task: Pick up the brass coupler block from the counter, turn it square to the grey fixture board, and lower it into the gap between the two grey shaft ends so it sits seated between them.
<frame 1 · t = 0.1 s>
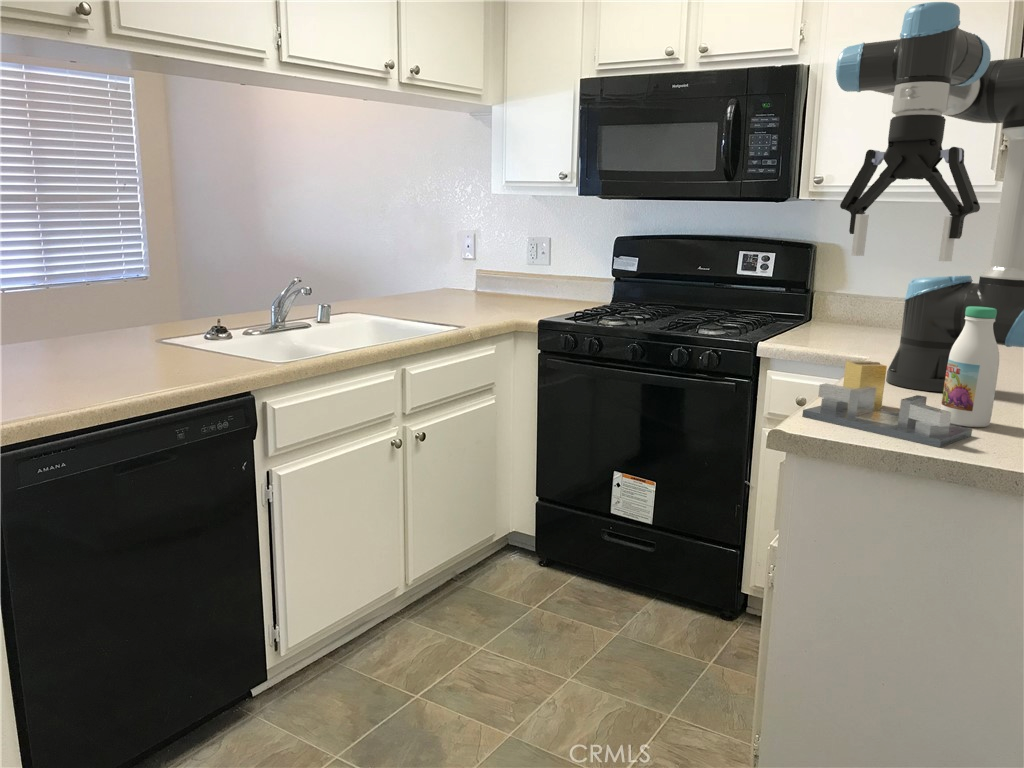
hand: (899, 258, 128), 28 cm above the worktop, fingers open, 13 cm apart
coupler: (860, 405, 153), on the worktop
milk bottle: (963, 423, 142), on the worktop
grey fixture board: (883, 425, 138), on the worktop
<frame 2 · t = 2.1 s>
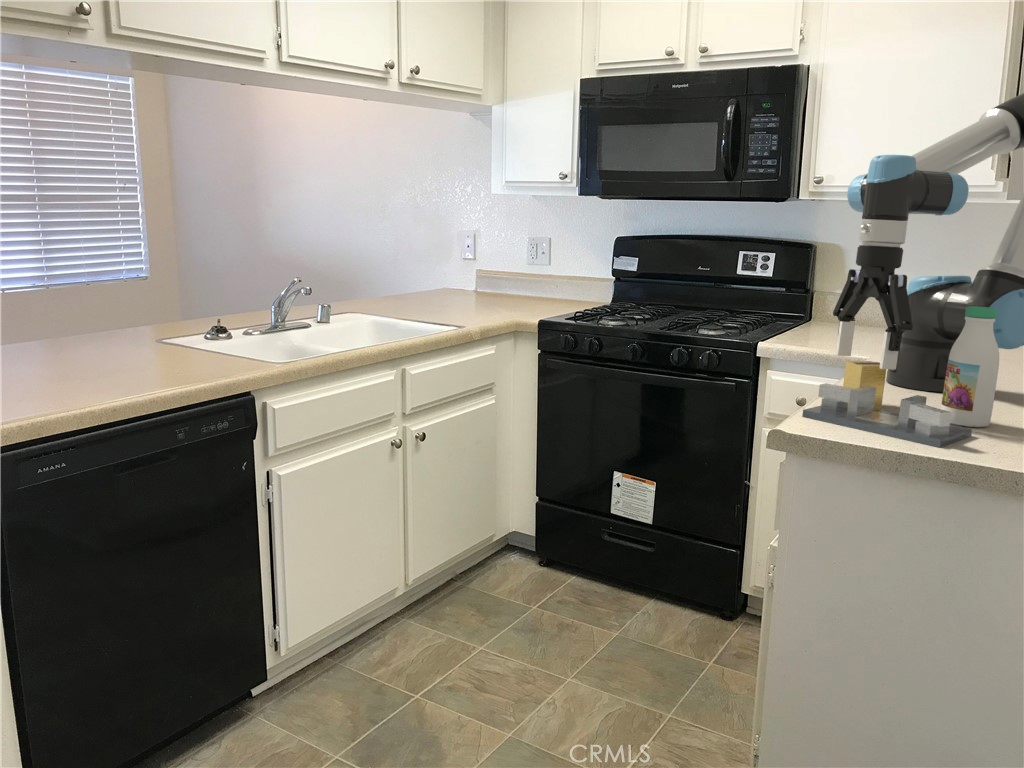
hand: (864, 362, 151), 8 cm above the worktop, fingers open, 13 cm apart
nothing on the worktop moved.
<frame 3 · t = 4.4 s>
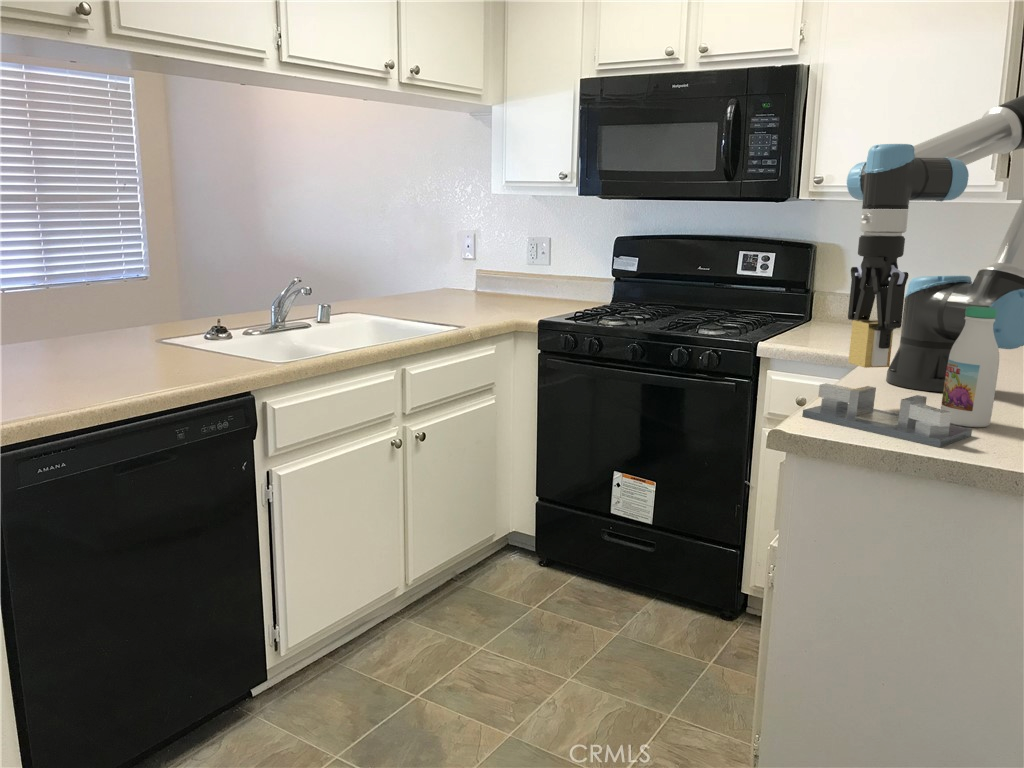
hand: (869, 362, 152), 8 cm above the worktop, fingers closed on coupler, 5 cm apart
coupler: (868, 364, 152), point 8 cm above the worktop, touching gripper
everything else where it was.
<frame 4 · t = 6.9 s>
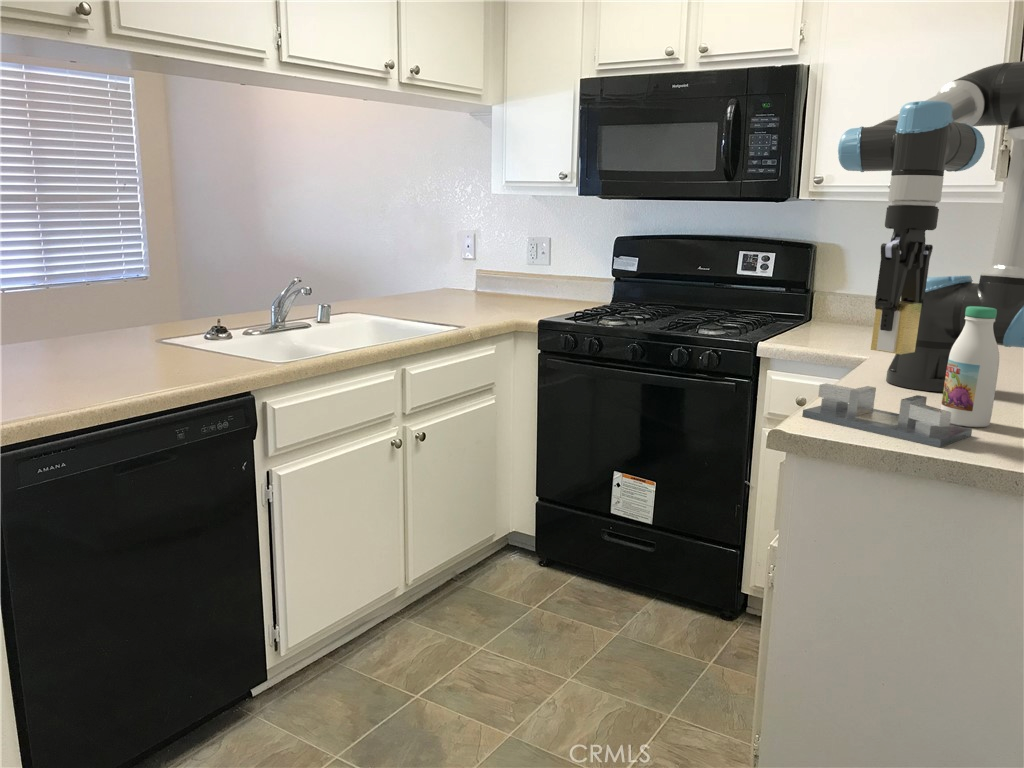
hand: (893, 349, 135), 13 cm above the worktop, fingers closed on coupler, 5 cm apart
coupler: (892, 350, 135), point 13 cm above the worktop, touching gripper
everything else where it was.
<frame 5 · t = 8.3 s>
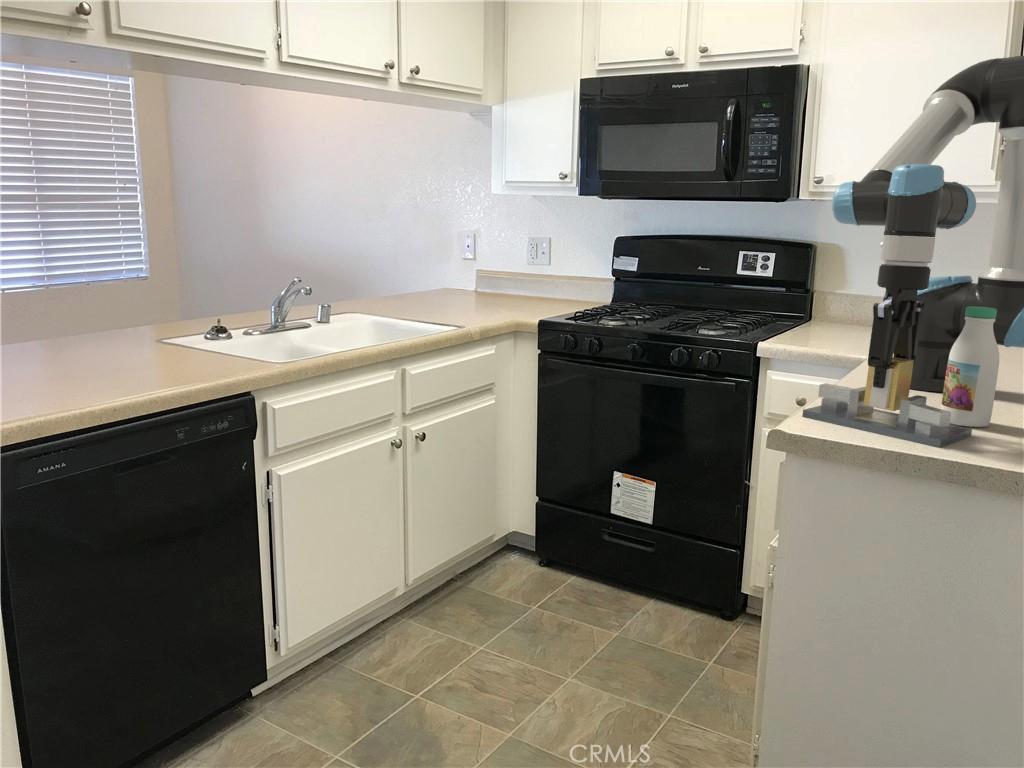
hand: (886, 404, 137), 4 cm above the worktop, fingers closed on coupler, 5 cm apart
coupler: (885, 406, 137), point 3 cm above the worktop, touching gripper
everything else where it was.
when the fingers open (2 cm above the worktop, at t = 9.4 s): coupler stays where it is, resting on grey fixture board.
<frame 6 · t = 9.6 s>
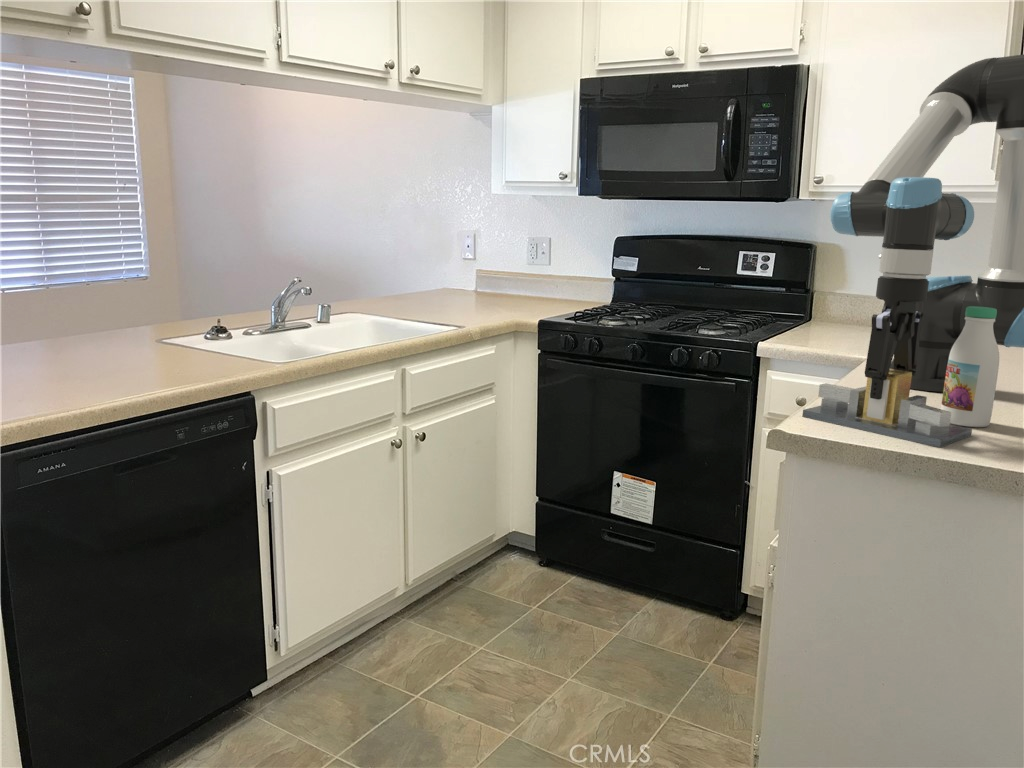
hand: (885, 414, 137), 2 cm above the worktop, fingers open, 6 cm apart
coupler: (884, 418, 138), point 1 cm above the worktop, touching grey fixture board
everything else where it was.
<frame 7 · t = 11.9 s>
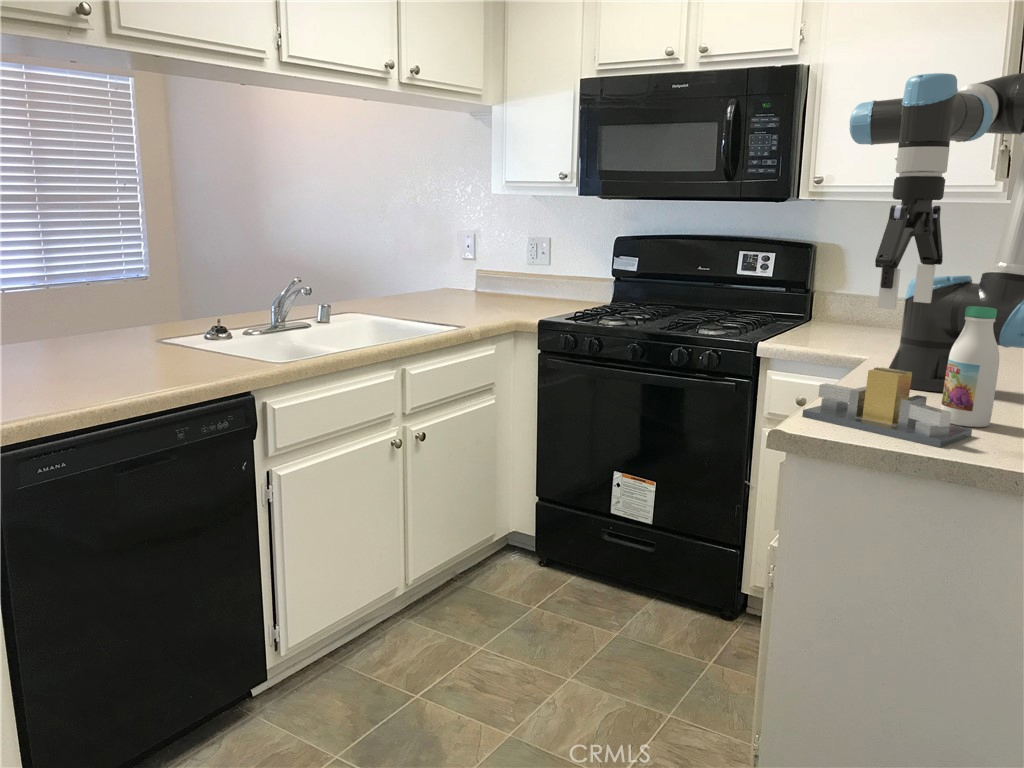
hand: (904, 305, 139), 20 cm above the worktop, fingers open, 13 cm apart
nothing on the worktop moved.
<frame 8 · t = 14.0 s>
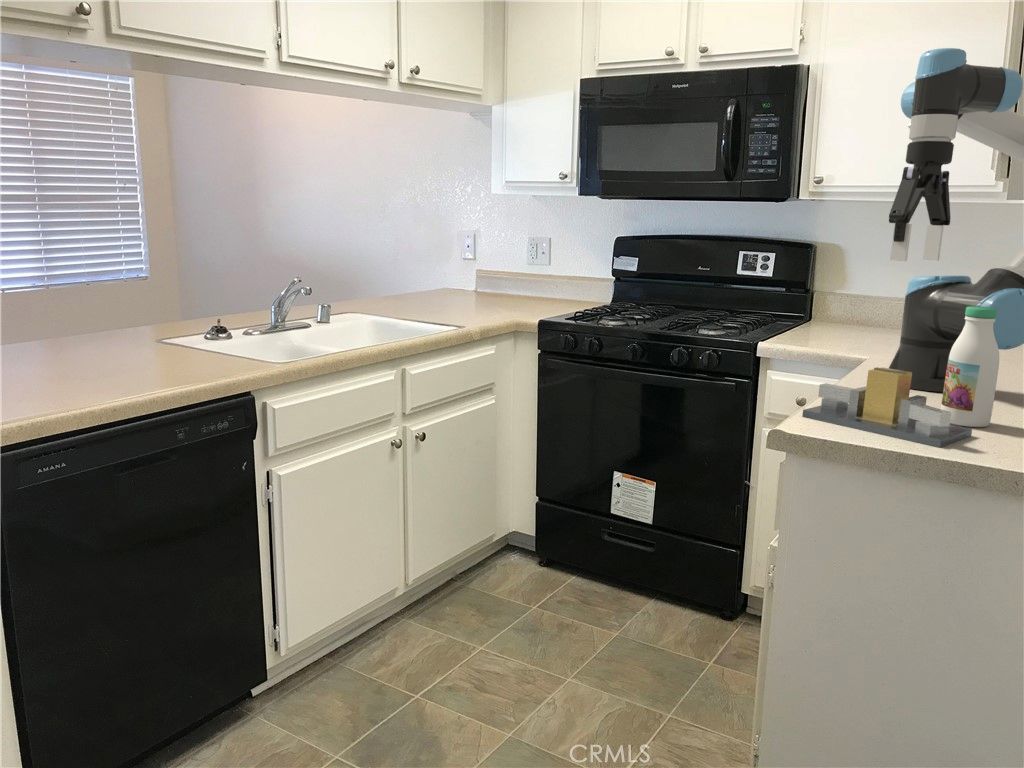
hand: (915, 260, 153), 27 cm above the worktop, fingers open, 13 cm apart
nothing on the worktop moved.
at the end: coupler 0.2 cm off-centre on the grey fixture board, point 1.3 cm above the grey fixture board's base; coupler tilted 0°; the gripper is holding nothing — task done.
